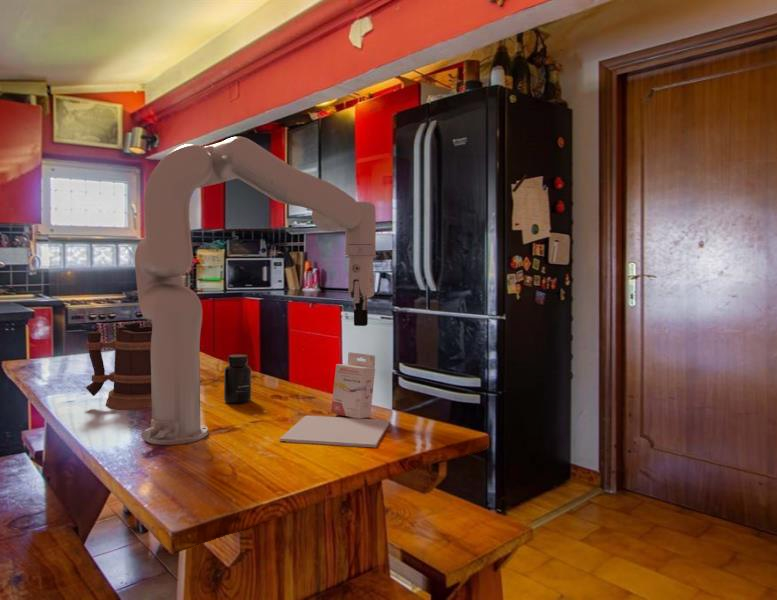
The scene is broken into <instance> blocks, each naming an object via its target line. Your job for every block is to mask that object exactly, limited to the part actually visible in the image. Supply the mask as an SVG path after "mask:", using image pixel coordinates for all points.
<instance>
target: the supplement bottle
mask: <svg viewBox="0 0 777 600" xmlns="http://www.w3.org/2000/svg"><path fill="white" fill-rule="evenodd" d="M248 360H249V359H248V354H230V355H228V360H227V363H228V365H227V366H225V368H224V373H223V374H224V375H223V381H224V383H223V397H224V398H223V399H224V400H223V402H225V404H230V405H231V404H232V405H238V404H239V405H240V404H246V403H249V402H250V401H252V400H251V399H252V368H251V367H250V366H249V365H248Z"/></svg>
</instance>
